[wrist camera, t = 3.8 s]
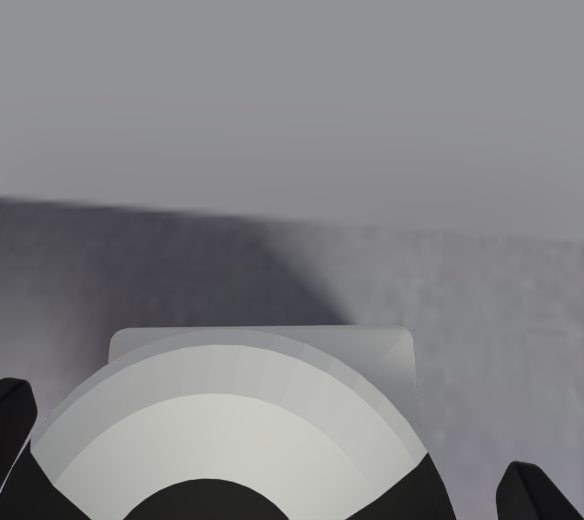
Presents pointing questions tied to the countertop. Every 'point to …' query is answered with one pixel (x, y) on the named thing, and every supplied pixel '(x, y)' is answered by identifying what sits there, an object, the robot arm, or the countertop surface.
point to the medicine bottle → (236, 431)
